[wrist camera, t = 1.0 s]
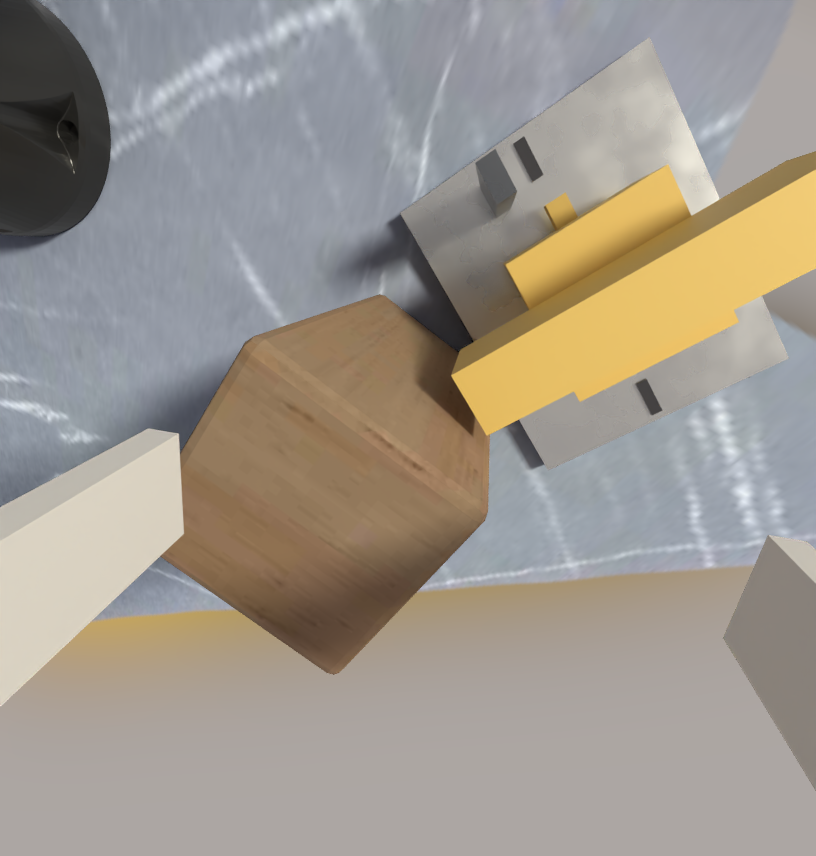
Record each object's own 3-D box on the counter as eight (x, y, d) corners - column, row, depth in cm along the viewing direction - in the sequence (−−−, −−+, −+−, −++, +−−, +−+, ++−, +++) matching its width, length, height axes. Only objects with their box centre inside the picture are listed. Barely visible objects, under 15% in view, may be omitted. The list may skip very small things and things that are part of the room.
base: (403, 214, 32) (366, 197, 23) (643, 45, 28) (719, -62, 18) (546, 463, 36) (564, 535, 27) (778, 354, 32) (898, 396, 22)
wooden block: (411, 477, 39) (333, 684, 20) (306, 399, 38) (125, 539, 19) (494, 378, 35) (494, 518, 16) (380, 290, 34) (245, 331, 16)
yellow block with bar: (434, 277, 31) (399, 289, 20) (694, 110, 26) (846, -2, 15) (518, 424, 33) (531, 511, 22) (773, 295, 28) (959, 321, 17)
